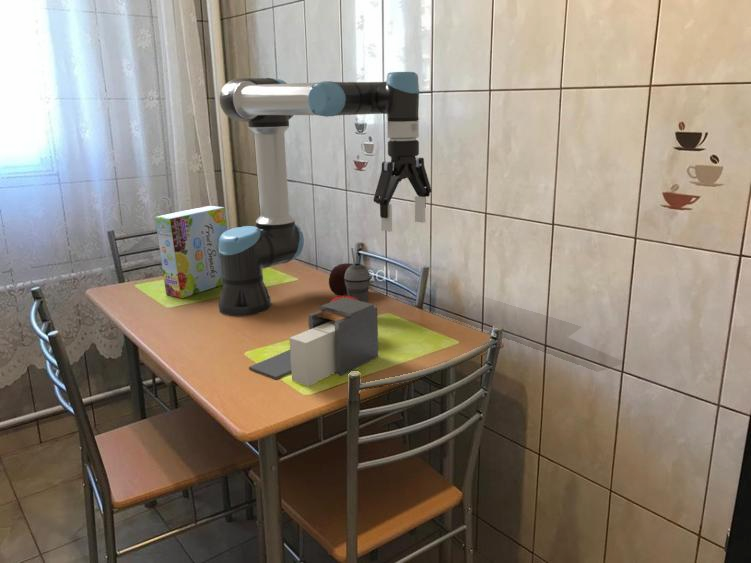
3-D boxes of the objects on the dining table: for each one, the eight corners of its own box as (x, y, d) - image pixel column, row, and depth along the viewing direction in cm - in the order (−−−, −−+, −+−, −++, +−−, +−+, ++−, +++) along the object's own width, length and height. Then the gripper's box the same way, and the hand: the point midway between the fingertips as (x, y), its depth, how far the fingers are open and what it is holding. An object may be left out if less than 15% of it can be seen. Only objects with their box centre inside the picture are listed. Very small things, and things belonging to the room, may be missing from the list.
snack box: (216, 278, 216) (209, 204, 209) (233, 282, 211) (227, 206, 204) (163, 294, 199) (153, 215, 192) (180, 299, 194) (171, 217, 187)
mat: (249, 369, 142) (248, 366, 142) (299, 347, 154) (299, 345, 154) (275, 379, 137) (275, 377, 137) (326, 356, 149) (326, 354, 149)
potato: (376, 295, 194) (375, 263, 191) (339, 304, 186) (338, 270, 184) (357, 287, 202) (356, 256, 199) (321, 295, 195) (320, 263, 192)
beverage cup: (368, 323, 170) (366, 251, 165) (342, 321, 172) (339, 251, 166) (373, 314, 177) (372, 245, 171) (348, 313, 178) (346, 244, 173)
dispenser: (311, 365, 144) (308, 310, 140) (349, 347, 154) (347, 295, 150) (340, 375, 138) (338, 318, 134) (378, 356, 148) (377, 303, 144)
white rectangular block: (292, 380, 137) (289, 337, 134) (335, 359, 147) (333, 319, 144) (308, 386, 134) (305, 342, 131) (351, 365, 144) (350, 324, 141)
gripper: (382, 143, 139) (383, 236, 145) (445, 136, 157) (444, 220, 163) (357, 142, 144) (359, 232, 150) (421, 136, 162) (421, 217, 168)
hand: (403, 226), depth 156 cm, fingers open, 13 cm apart
